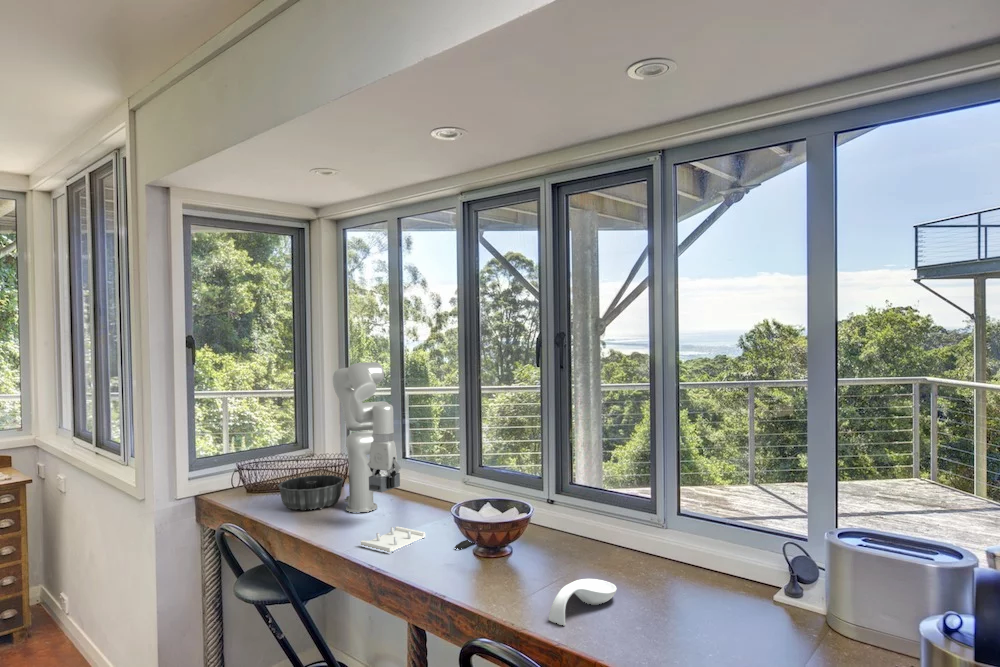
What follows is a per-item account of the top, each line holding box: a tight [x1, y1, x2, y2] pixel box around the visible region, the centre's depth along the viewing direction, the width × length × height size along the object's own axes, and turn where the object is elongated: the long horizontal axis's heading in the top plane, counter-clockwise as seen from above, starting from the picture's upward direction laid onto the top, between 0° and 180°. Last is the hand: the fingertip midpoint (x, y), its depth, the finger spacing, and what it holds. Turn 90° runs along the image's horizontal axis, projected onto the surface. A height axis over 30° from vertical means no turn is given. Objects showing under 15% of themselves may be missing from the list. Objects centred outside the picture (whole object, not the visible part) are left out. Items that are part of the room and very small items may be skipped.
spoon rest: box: [548, 578, 618, 626], centre depth 160 cm, size 24×12×7 cm, turn 141°
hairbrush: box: [454, 539, 472, 550], centre depth 211 cm, size 8×4×25 cm
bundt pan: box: [277, 474, 345, 511], centre depth 259 cm, size 26×26×10 cm
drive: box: [369, 471, 401, 493], centre depth 227 cm, size 6×11×5 cm, turn 147°
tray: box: [360, 526, 426, 552], centre depth 211 cm, size 13×18×4 cm
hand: (384, 486), depth 227 cm, fingers closed on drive, 6 cm apart
